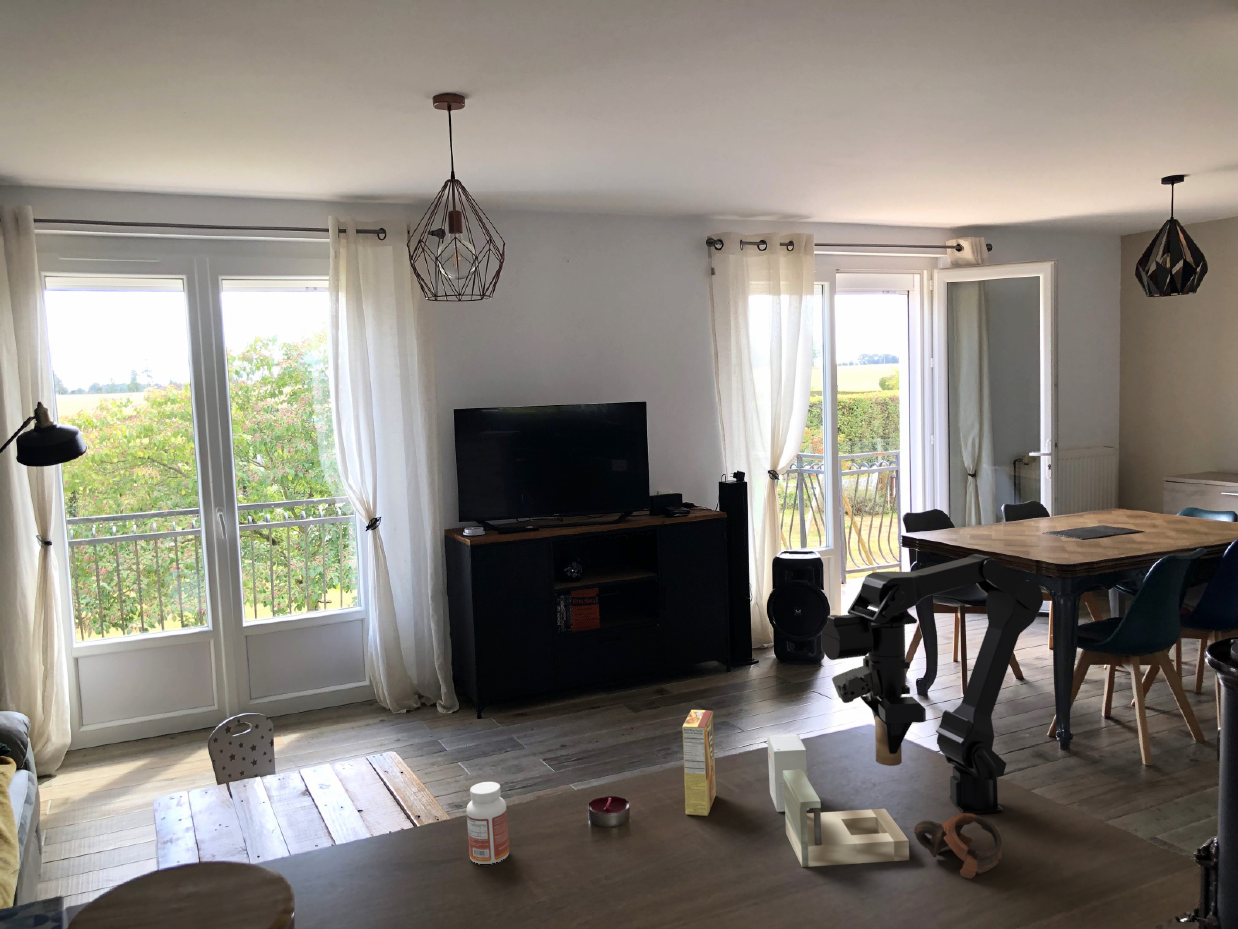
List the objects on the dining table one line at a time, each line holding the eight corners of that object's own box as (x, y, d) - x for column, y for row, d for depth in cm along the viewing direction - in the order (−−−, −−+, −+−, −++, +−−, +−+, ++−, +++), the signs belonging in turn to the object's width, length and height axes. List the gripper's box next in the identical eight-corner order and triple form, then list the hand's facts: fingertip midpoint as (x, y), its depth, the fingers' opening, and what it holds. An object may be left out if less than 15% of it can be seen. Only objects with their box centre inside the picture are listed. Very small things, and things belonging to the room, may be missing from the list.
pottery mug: (987, 849, 140) (1004, 815, 135) (992, 905, 132) (1010, 871, 128) (906, 827, 142) (921, 792, 137) (906, 881, 134) (922, 846, 130)
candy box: (693, 793, 164) (689, 709, 163) (717, 795, 163) (713, 709, 162) (684, 815, 156) (680, 726, 155) (709, 817, 154) (705, 727, 154)
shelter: (884, 825, 148) (882, 764, 148) (910, 861, 136) (908, 795, 136) (785, 831, 148) (782, 770, 147) (802, 868, 136) (800, 802, 135)
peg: (897, 756, 150) (896, 713, 150) (905, 765, 146) (904, 721, 146) (872, 757, 150) (871, 714, 150) (880, 766, 146) (879, 722, 146)
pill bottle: (504, 844, 148) (500, 776, 148) (513, 861, 142) (509, 791, 142) (466, 852, 146) (461, 783, 145) (473, 870, 140) (469, 798, 140)
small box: (809, 811, 155) (807, 750, 154) (776, 813, 155) (773, 751, 154) (801, 792, 163) (798, 733, 162) (769, 793, 163) (767, 734, 162)
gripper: (822, 640, 157) (824, 731, 157) (852, 670, 138) (854, 773, 139) (887, 637, 157) (889, 728, 158) (926, 667, 138) (928, 770, 139)
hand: (888, 748), depth 148 cm, fingers closed on peg, 4 cm apart
